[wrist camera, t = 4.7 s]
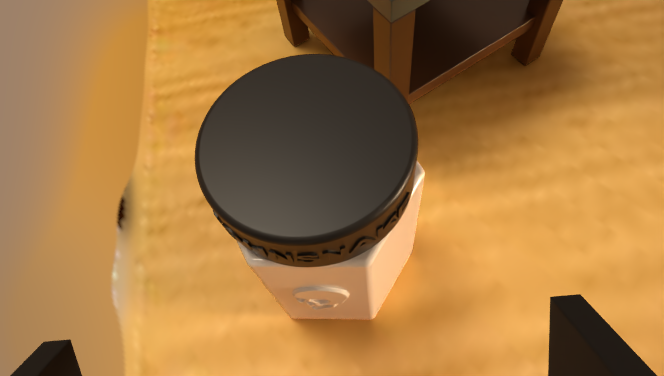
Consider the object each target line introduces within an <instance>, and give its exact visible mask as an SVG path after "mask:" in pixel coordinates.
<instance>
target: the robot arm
mask: <svg viewBox="0 0 664 376" xmlns="http://www.w3.org/2000/svg"><path fill="white" fill-rule="evenodd" d="M11 376H82V375H81V371H80V368H79V365H78V362H77V359H76V356H75V353H74V350H73V346H72V343H71V340H61V341H49V342H43V343H42V344H41V345H40V346H39V347H38V348H37V349H36V350H35V351H34V352H33V353H32V355H30V357H28V358H27V359H26V360H25V361H24V362H23V364H22V365H20V366H19V368H17V370H16V371H15V372H14V373H13V374H12V375H11ZM548 376H657V375H656V374H655V373H654V372H653V371H652V370H651V369H650V368H649V367H648V366H647V365H646V364H645V363H644V361H643V360H642V359H641V358H640V357H639V356H638V355H637V354H636V353H635V352H634V351H633V350H632V349H631V348H630V347H629V346H628V345H627V343H626V342H625V341H624V340H623V339H622V338H621V337H620V336H619V335H618V334H617V333H616V332H615V331H614V330H613V329H612V328H611V327H610V326H609V324H608V323H607V322H606V321H605V320H604V319H603V318H602V317H601V316H600V315H599V314H598V313H597V312H596V311H595V310H594V309H593V308H592V306H591V305H590V304H589V303H588V302H587V301H586V300H585V299H584V298H583V297H582V296H581V295H580V294H579V295H567V296H556V297H550V333H549V371H548Z"/></svg>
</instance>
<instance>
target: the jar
mask: <svg viewBox="0 0 664 376" xmlns="http://www.w3.org/2000/svg"><path fill="white" fill-rule="evenodd" d="M417 153H418V132H417V126H416V122H415V118H414V115H413V113H412V110H411V108H410V106H409V104H408V102H407V100H406V99H405V97H404V96H403V94H402V93H401V92H400V91H399V89H398V88H397V87H396V86H395V85H394V84H393V83H392V82H391V81H390V80H389V79H387V78H386V77H385V76H384V75H382V74H381V73H379V72H378V71H376V70H375V69H373V68H371V67H369V66H367V65H365V64H363V63H361V62H358V61H355V60H352V59H349V58H345V57H341V56H335V55H327V54H304V55H296V56H290V57H286V58H281V59H278V60H275V61H272V62H269V63H267V64H264V65H262V66H260V67H258V68H255V69H253V70H252V71H250V72H248V73H247V74H245V75H243V76H242V77H241V78H239V79H238V80H236V81H235V82H234V83H233V84H231V85H230V86H229V87H228V88H227V89H226V90H225V91H224V92H223V93H222V94H221V95H220V96H219V97H218V99H217V100H216V101H215V102H214V104H213V105H212V106H211V108H210V110H209V111H208V113H207V115H206V117H205V119H204V121H203V123H202V125H201V128H200V130H199V133H198V137H197V141H196V148H195V168H196V174H197V178H198V182H199V185H200V188H201V190H202V192H203V194H204V196H205V198H206V200H207V201H208V203H209V204H210V206H211V207H212V209H213V212H214V215H215V216H216V218H217V219H218V220H219V222H220V223H221V224H222V223H223V224H222V225H223V227H224V228H225V229H226V230H227V231H228V232H229V234H230V235H231V236H232V237H234V238H235V239H236V240H237V243H238V245H239V247H240V249H241V251H242V253H243V255H244V258H245V260H246V262H247V264H248V265H249V267H250V268H251V269H252V270H253V272H254V273H255V274H256V275H257V277H258V278H259V279H260V280H261V282H262V283H263V284H264V285H265V287H266V288H267V289H268V291H269V292H270V293H271V294H272V296H273V297H274V298H275V299H276V301H277V302H278V303H279V304H280V306H281V307H282V308H283V309H284V311H285V312H286V313H287V314H288V316H289V317H290V318H293V319H365V320H371V319H374V318H375V316H376V315H377V313H378V311H379V309H380V308H381V306H382V304H383V302H384V301H385V299H386V297H387V295H388V293H389V292H390V290H391V288H392V286H393V285H394V283H395V281H396V279H397V278H398V276H399V274H400V272H401V271H402V269H403V267H404V265H405V264H406V262H407V260H408V258H409V257H410V255H411V253H412V250H413V244H414V238H415V232H416V226H417V220H418V213H419V207H420V201H421V195H422V189H423V183H424V177H425V171H424V169H423V168H422V166H421V165H420V164H419V162H418V161H417Z"/></svg>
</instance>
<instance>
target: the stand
mask: <svg viewBox="0 0 664 376" xmlns="http://www.w3.org/2000/svg"><path fill="white" fill-rule="evenodd" d="M562 1H563V0H277V5H278V9H279V13H280V17H281V21H282V25H283V29H284V33H285V37H286V38H287V39H288V40H289V41H290V42H291V43H292V44H293V46H294V47H295V46H297V45H298V44H300V43H302V42H304V41H306V40H307V39H309V38H310V36H309V30H308V28H309V29H310V30H311V31H312V32H313V33H314V34H315V35H316V36H317V37H318V38H319V39H320V41H321V42H322V43H323V44H324V45H325V46H326V47H327V48H328V49H329V50H330V51H331V52H332V53H333V54H334V55H335V56H341V57H345V58H349V59H352V60H355V61H358V62H361V63H363V64H365V65H367V66H369V67H371V68H373V69H375V70H376V71H378V72H379V73H381V74H382V75H384V76H385V77H386V78H387V79H389V80H390V81H391V82H392V83H393V84H394V85H395V86H396V87H397V88H398V89H399V91H400V92H401V93H402V94H403V96H404V97H405V99H406V100H407V102H408V104H410V103H412V102H414V101H415V100H417V99H419V98H420V97H422V96H423V95H425V94H427V93H428V92H430V91H432V90H433V89H435V88H436V87H438V86H440V85H441V84H443V83H444V82H446V81H448V80H449V79H451V78H453V77H454V76H456V75H457V74H459V73H461V72H462V71H464V70H466V69H467V68H469V67H470V66H472V65H474V64H475V63H477V62H478V61H480V60H482V59H483V58H485V57H487V56H488V55H490V54H491V53H493V52H495V51H496V50H498V49H500V48H501V47H503V46H504V45H506V44H508V43H509V42H511V41H512V40H514V39H516V41H515V44H514V47H513V49H512V52H511V55H512V56H514V57H515V58H516V59H517V60H519V61H520V62H521V63H522V64H523V65H527V64H529V63H530V62H532V61H533V60H535V59H536V58H538V57H539V56H540V54H541V52H542V49H543V47H544V45H545V42H546V40H547V37H548V35H549V33H550V30H551V28H552V25H553V23H554V21H555V18H556V16H557V13H558V11H559V9H560V6H561V4H562Z"/></svg>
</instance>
